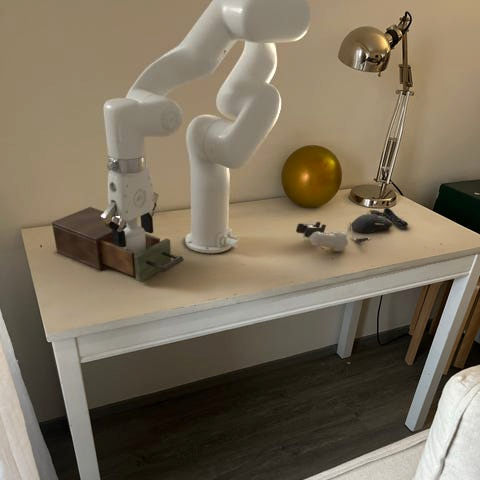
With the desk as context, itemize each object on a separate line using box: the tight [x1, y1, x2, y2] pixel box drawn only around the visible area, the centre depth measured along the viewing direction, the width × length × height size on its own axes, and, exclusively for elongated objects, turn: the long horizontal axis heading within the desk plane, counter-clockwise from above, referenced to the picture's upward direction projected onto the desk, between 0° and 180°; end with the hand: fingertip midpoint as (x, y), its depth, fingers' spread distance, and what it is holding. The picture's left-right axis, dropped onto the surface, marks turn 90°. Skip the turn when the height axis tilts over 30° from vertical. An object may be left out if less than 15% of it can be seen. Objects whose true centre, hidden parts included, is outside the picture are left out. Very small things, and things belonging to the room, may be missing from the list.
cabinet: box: [51, 206, 127, 271], centre depth 123 cm, size 15×12×8 cm
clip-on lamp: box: [295, 221, 371, 252], centre depth 133 cm, size 12×6×18 cm
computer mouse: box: [349, 207, 409, 234], centre depth 147 cm, size 12×18×4 cm
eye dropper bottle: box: [123, 217, 146, 255], centre depth 115 cm, size 4×6×12 cm
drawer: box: [99, 229, 185, 283], centre depth 117 cm, size 19×11×6 cm, turn 57°
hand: (134, 238), depth 116 cm, fingers open, 8 cm apart
